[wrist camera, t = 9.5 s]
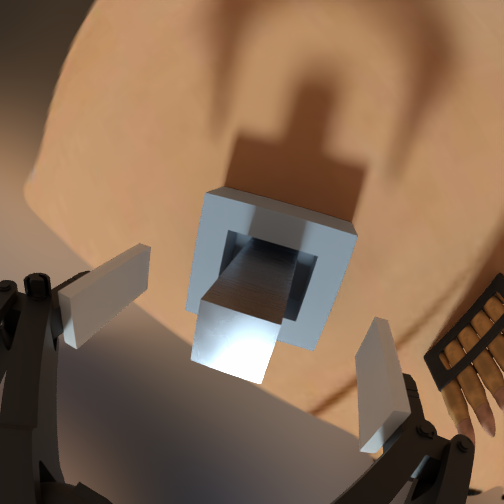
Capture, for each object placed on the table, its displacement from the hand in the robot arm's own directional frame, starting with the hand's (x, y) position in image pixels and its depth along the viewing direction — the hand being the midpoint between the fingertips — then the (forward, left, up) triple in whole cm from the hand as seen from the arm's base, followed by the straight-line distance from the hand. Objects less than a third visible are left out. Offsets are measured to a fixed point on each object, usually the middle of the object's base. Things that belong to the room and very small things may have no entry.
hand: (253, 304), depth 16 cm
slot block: (0, 0, -9) cm, 9 cm away
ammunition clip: (+1, +19, -9) cm, 21 cm away
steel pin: (0, 0, -8) cm, 8 cm away
